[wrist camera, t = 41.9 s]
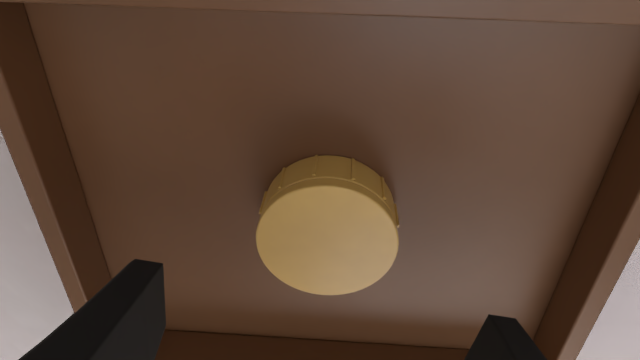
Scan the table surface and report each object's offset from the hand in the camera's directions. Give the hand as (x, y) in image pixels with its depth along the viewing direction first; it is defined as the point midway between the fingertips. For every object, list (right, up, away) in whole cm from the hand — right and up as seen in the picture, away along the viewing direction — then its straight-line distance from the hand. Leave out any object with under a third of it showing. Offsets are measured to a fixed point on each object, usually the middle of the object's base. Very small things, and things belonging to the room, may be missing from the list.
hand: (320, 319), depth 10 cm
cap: (0, +2, +2) cm, 3 cm away
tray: (0, +2, +4) cm, 4 cm away
